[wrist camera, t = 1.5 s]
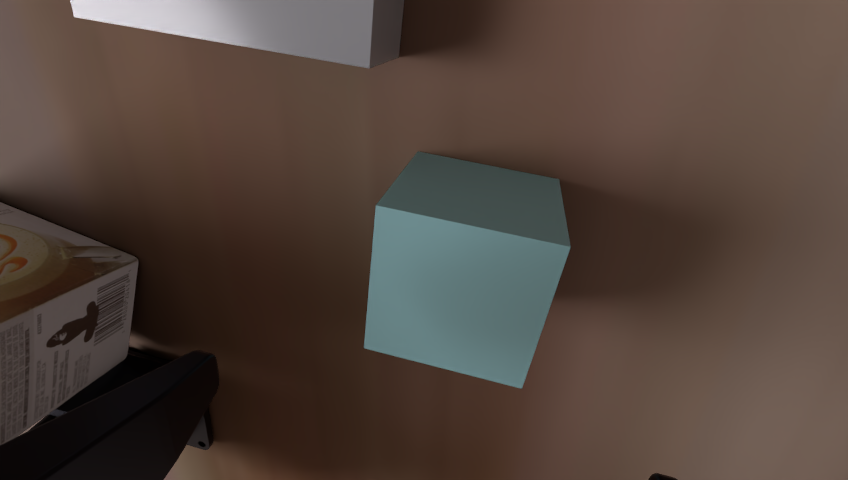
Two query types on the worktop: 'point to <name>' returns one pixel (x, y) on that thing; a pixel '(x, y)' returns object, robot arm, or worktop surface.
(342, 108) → the worktop surface
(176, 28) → the stone plinth
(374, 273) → the teal cube
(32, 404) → the coffee box
